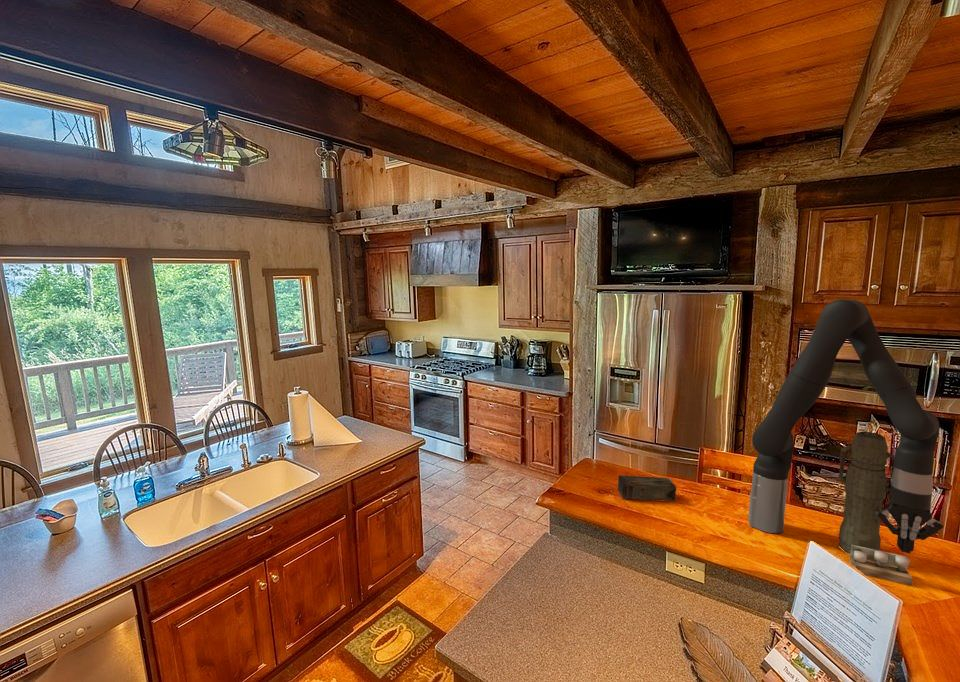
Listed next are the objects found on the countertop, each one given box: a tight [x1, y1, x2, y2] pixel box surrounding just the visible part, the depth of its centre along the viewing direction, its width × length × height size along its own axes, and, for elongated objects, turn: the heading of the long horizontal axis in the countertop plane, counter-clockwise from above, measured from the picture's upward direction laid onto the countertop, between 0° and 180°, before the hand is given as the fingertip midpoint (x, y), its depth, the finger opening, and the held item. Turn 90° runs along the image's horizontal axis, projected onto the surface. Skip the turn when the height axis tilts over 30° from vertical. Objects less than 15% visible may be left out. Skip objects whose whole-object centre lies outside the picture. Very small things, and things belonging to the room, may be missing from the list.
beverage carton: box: [617, 474, 677, 502], centre depth 158 cm, size 8×19×7 cm, turn 86°
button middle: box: [874, 550, 888, 568], centre depth 115 cm, size 3×3×4 cm
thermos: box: [838, 431, 895, 555], centre depth 123 cm, size 9×12×35 cm
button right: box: [895, 554, 911, 573], centre depth 113 cm, size 3×3×4 cm
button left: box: [853, 551, 867, 563], centre depth 117 cm, size 3×3×4 cm
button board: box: [848, 545, 914, 587], centre depth 115 cm, size 11×6×5 cm, turn 62°
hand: (904, 551), depth 112 cm, fingers closed
